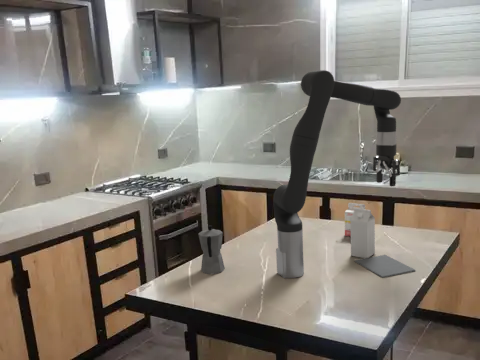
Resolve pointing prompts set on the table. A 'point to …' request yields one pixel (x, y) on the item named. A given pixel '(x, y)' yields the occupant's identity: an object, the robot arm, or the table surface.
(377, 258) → the mat
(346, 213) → the ink cartridge box
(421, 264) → the table surface
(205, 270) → the coffeepot
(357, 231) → the milk carton
